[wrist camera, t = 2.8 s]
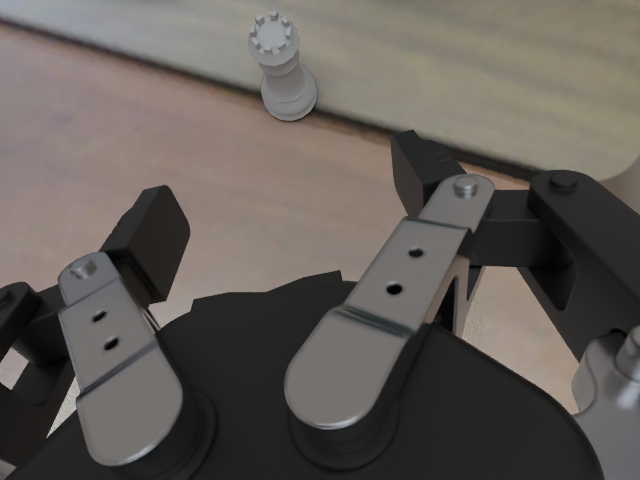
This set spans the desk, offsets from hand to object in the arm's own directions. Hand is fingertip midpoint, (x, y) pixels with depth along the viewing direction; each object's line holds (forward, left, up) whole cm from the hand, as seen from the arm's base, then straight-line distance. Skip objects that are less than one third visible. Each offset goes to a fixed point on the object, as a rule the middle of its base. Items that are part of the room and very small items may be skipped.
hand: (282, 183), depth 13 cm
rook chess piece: (-5, +10, -15) cm, 19 cm away
